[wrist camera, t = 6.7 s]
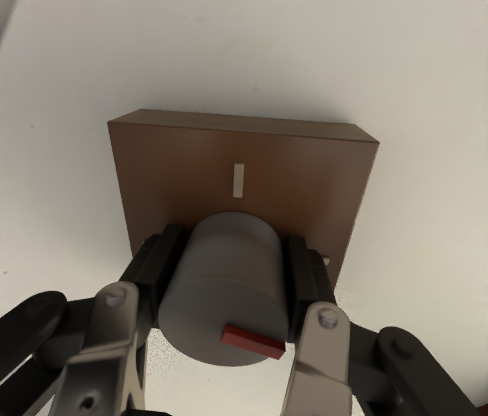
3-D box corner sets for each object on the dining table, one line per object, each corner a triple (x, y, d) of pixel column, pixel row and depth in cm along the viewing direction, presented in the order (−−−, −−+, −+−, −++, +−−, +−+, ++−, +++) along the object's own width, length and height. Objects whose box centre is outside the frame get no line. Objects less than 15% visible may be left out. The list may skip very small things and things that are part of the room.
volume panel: (139, 108, 12) (103, 122, 10) (356, 124, 12) (383, 143, 9) (161, 281, 18) (142, 322, 15) (311, 296, 17) (320, 340, 15)
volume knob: (177, 269, 13) (141, 354, 9) (203, 195, 11) (171, 266, 7) (259, 297, 14) (257, 388, 10) (300, 232, 11) (316, 315, 8)
